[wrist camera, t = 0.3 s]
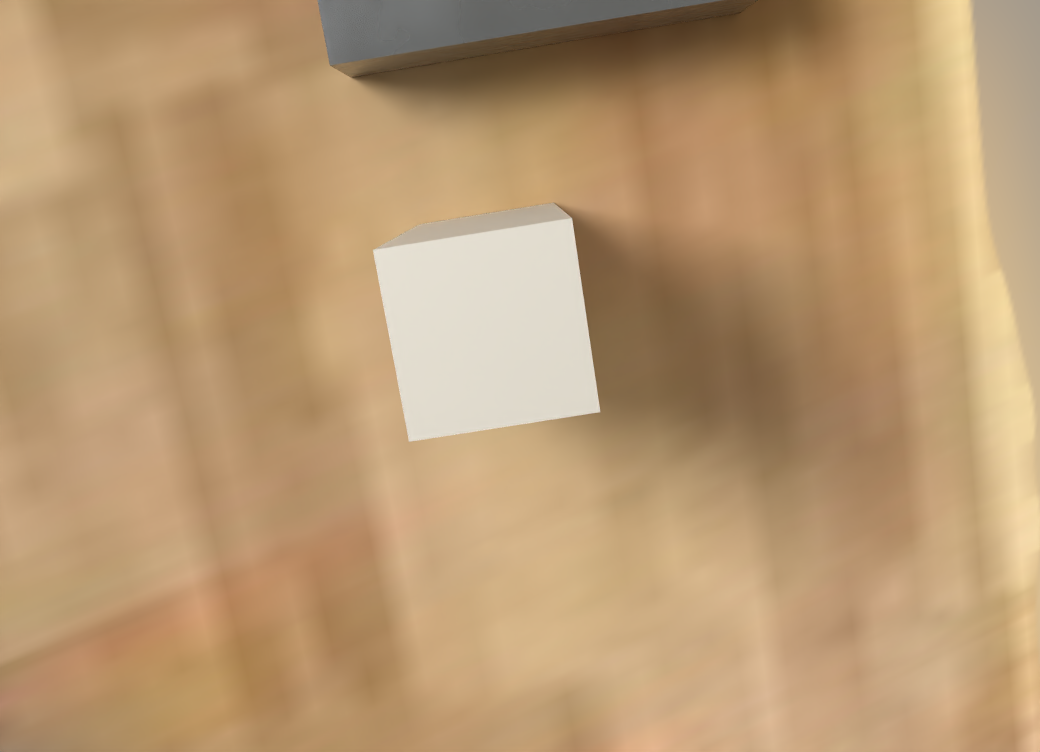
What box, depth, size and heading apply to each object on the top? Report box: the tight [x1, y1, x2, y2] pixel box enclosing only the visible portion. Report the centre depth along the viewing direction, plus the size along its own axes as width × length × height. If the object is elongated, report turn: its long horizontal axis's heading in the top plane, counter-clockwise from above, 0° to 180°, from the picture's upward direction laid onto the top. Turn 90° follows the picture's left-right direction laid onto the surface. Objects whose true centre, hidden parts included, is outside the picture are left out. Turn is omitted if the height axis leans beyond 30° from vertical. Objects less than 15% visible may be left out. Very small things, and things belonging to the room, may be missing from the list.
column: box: [373, 203, 600, 442], centre depth 31 cm, size 5×5×12 cm
